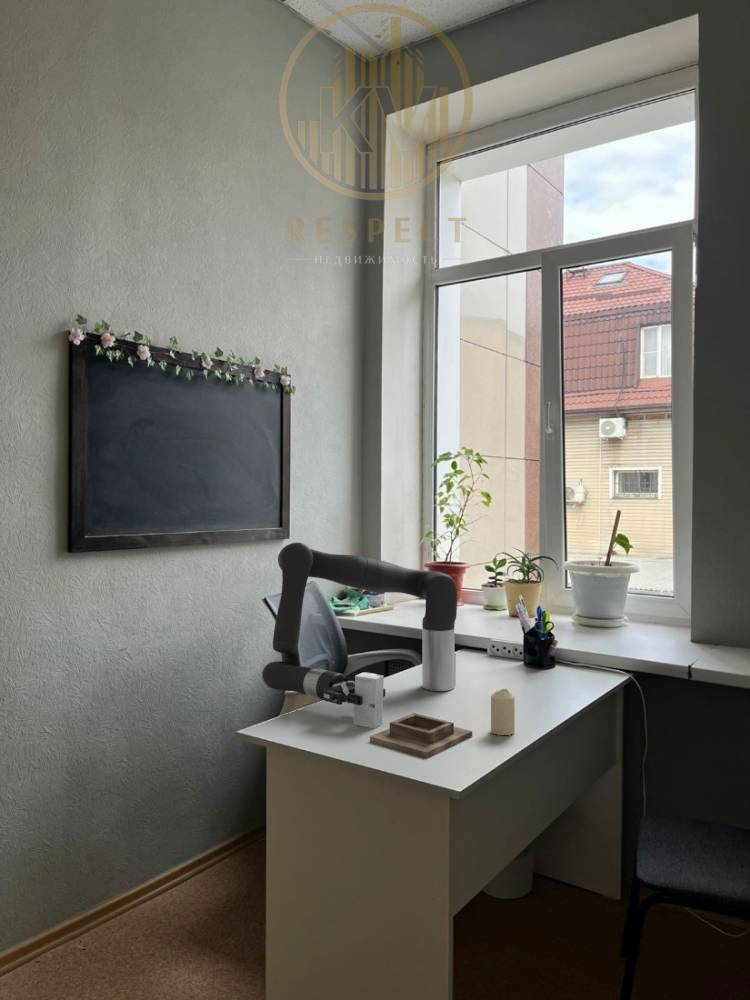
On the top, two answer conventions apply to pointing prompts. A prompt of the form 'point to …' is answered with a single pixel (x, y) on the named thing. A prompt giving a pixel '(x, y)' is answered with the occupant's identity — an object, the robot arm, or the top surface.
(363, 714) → the skincare box
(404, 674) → the top surface
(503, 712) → the candle
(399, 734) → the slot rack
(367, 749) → the top surface
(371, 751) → the top surface
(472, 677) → the top surface
